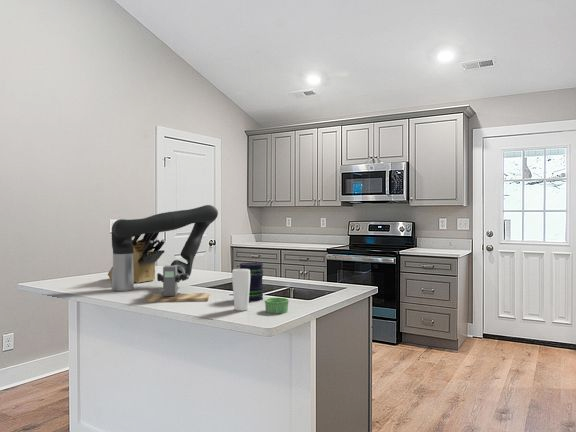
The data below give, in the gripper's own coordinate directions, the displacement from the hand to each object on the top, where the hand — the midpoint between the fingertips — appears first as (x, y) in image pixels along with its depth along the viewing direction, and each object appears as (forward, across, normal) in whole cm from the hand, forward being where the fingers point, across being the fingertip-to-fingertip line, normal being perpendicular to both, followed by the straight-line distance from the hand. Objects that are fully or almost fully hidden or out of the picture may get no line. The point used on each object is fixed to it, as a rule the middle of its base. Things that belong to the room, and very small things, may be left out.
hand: (169, 279), depth 190 cm
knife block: (-56, -26, +9) cm, 63 cm away
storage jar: (+1, +34, +9) cm, 35 cm away
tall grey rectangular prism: (-3, 0, +7) cm, 7 cm away
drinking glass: (+21, +30, +9) cm, 38 cm away
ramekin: (+25, +43, +9) cm, 51 cm away
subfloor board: (-3, +4, +9) cm, 10 cm away
